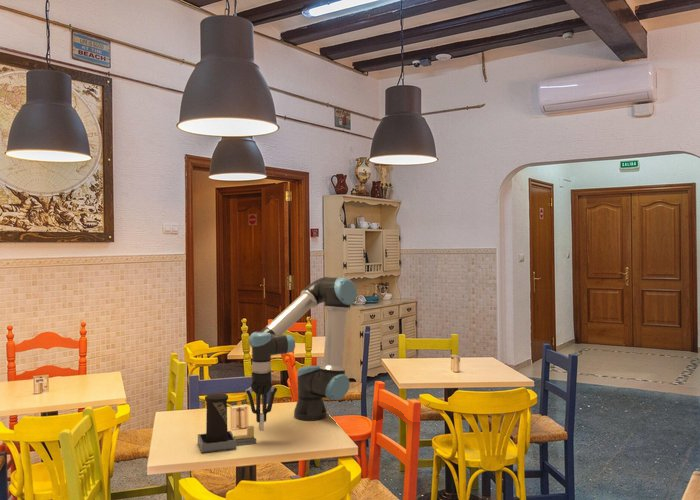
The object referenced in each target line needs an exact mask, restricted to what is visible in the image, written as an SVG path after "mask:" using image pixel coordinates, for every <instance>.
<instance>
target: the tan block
mask: <svg viewBox="0 0 700 500" xmlns="http://www.w3.org/2000/svg"><path fill="white" fill-rule="evenodd" d="M233 437H235V439H236V440H243V439H252V438H255V426H254V425H247V426H246V434H240V435H234V436H233Z"/></svg>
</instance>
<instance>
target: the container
mask: <svg viewBox="0 0 700 500" xmlns="http://www.w3.org/2000/svg"><path fill="white" fill-rule="evenodd" d="M228 399H229V395H228V394H227V393H223V392H213V393H208V394H206V396H204V400H205V401H206V426H205V428H206V432H205V434H206V443H211V442H220V441H228V432H227V431H228Z"/></svg>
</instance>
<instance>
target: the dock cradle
mask: <svg viewBox="0 0 700 500" xmlns="http://www.w3.org/2000/svg"><path fill="white" fill-rule="evenodd" d="M227 432H228V441H220V442H211V443H206V433H201V434H200V433H199V434H197V445H198V447H199V449H200V450H199V451H200V453H201V454H209V453H216V452H217V453H218V452H225V451H233V450H237V446H236V439H235V437H234V436H233V433H232V431H231V430H227Z"/></svg>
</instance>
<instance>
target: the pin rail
mask: <svg viewBox="0 0 700 500" xmlns="http://www.w3.org/2000/svg"><path fill="white" fill-rule="evenodd" d="M254 444H257V438H256V437H254V438H252V439H243V440H236V447H238V446H245V445H254Z"/></svg>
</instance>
